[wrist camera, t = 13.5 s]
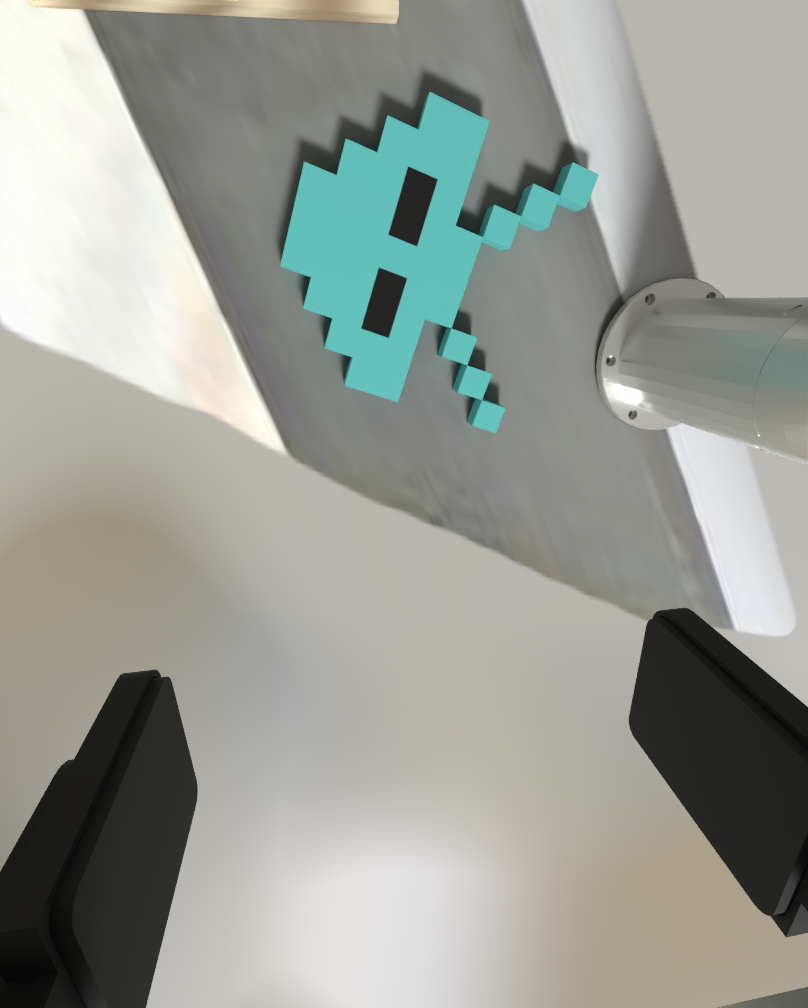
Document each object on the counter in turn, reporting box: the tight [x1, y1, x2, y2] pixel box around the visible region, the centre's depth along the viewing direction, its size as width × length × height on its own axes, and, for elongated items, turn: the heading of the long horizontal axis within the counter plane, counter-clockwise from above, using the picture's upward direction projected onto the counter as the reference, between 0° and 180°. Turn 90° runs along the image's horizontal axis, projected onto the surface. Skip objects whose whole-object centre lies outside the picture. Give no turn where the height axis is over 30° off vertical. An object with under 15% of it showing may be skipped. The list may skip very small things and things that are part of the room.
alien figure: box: [280, 92, 599, 433], centre depth 38 cm, size 20×2×20 cm
